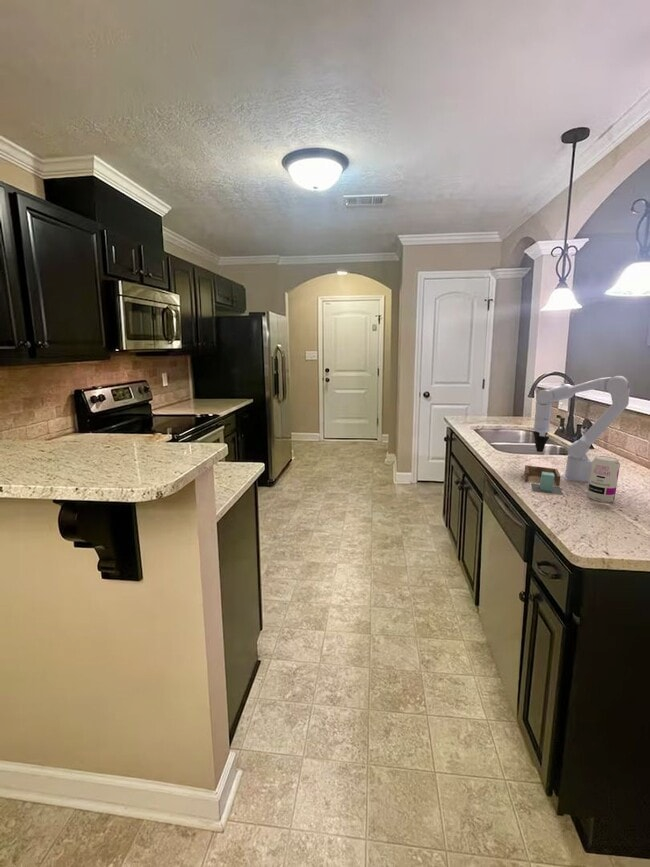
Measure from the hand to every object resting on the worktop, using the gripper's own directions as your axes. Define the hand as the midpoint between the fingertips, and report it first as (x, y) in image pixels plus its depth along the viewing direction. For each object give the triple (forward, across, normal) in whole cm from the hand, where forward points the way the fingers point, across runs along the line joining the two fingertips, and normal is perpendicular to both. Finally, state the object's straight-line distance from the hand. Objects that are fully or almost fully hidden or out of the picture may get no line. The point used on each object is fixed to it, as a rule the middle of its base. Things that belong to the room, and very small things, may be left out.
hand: (539, 449), depth 183 cm
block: (+10, +25, +2) cm, 27 cm away
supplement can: (+10, +28, +19) cm, 35 cm away
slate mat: (+10, +25, +2) cm, 27 cm away
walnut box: (+10, +12, +1) cm, 16 cm away
